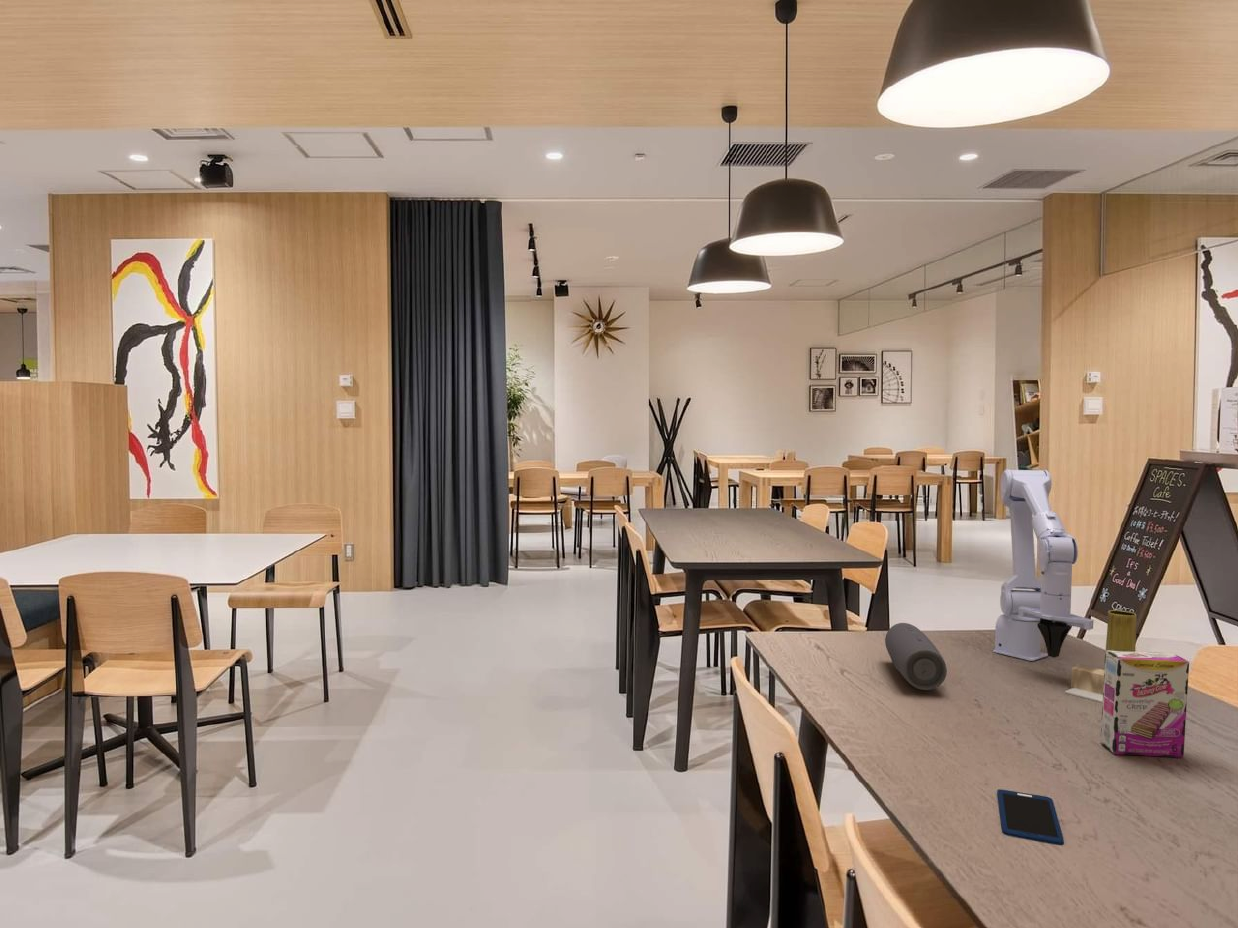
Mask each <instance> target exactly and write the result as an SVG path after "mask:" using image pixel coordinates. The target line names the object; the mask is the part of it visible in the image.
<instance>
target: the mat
mask: <svg viewBox="0 0 1238 928" xmlns="http://www.w3.org/2000/svg"><path fill="white" fill-rule="evenodd" d="M1064 693H1065V694H1068V695H1071V696H1076V697H1079V698H1084V699H1087V700H1090V701H1093V702H1099V703H1102V704H1103V695H1101V694H1097V693H1093V692H1089V691H1085V690H1081V689H1077V688H1073V687H1071V688H1069V689H1067V690H1065V691H1064Z"/></svg>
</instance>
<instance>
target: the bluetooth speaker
mask: <svg viewBox="0 0 1238 928" xmlns="http://www.w3.org/2000/svg"><path fill="white" fill-rule="evenodd" d="M884 642H885V647H886V650H887V653H888V655H889V657H890V659H891V662H892V663H893V666H894V667H895V668H896V670H897V671H898V672H899V674H900V675H901V676H902V677H903V678H904V679H905V681H906V682H907V683H908V684H910V685H911V686H913V687H914V688H915V689H918V690H921V691H922V690H924V691H930V690H934V689H937V688H938V687H940V686H941V685H942V684H943V683H944V682H945V680H946V677H947V674H948V672H947V671H948V670H947V665H946V661H945V659H944V657H943V656H942V654H941V652H940V651H939V650H938V648H937V647H936V646H935V644H934V643H933V642H932V641H931V639H930V638H929V637H928V636H927V635H926V634H925V633H924V632H923V631H921V630H920V629H919V628H918V627H916V626H915V625H913V624H910V623H908V622H899V623H896V624H894V625H893V626H891V627H889V629H888V630H887V632H886V633H885V638H884Z"/></svg>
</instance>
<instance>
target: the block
mask: <svg viewBox="0 0 1238 928" xmlns="http://www.w3.org/2000/svg"><path fill="white" fill-rule="evenodd" d="M1070 677H1071V678H1070V680H1071V681H1070V687H1071V688H1077V689H1081V690H1085V691H1089V692H1093V693H1097V694H1101V695H1103V686H1104V669H1101V668H1098V667H1097V668H1096V667H1094V666H1088V665H1084V664H1078V665H1075V666H1073V667H1071V676H1070Z"/></svg>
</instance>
